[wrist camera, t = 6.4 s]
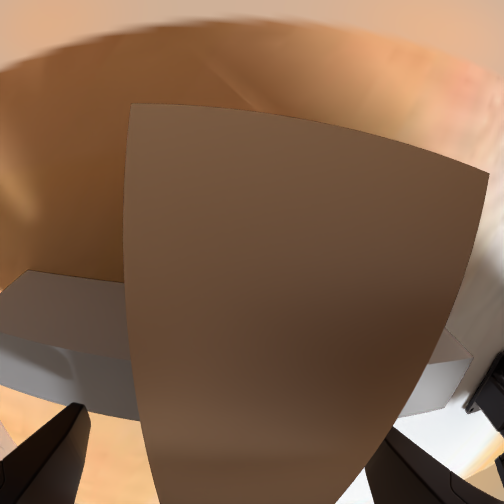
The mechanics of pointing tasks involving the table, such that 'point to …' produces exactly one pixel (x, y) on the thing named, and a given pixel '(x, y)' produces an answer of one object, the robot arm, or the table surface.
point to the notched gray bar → (125, 348)
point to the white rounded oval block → (5, 442)
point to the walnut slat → (281, 295)
